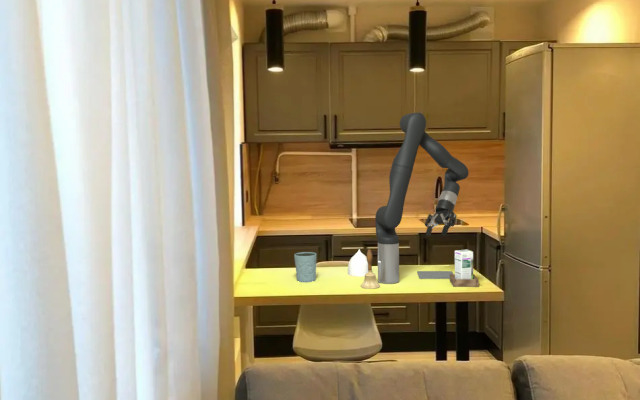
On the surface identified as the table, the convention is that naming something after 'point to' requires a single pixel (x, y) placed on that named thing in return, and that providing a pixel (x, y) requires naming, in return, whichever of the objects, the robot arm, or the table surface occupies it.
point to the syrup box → (463, 264)
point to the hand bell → (370, 274)
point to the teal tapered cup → (305, 266)
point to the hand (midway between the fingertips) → (435, 234)
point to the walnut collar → (464, 281)
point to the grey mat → (434, 274)
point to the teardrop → (358, 265)
